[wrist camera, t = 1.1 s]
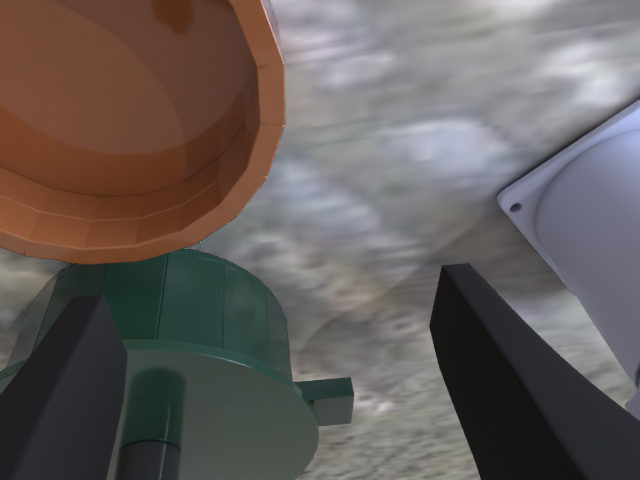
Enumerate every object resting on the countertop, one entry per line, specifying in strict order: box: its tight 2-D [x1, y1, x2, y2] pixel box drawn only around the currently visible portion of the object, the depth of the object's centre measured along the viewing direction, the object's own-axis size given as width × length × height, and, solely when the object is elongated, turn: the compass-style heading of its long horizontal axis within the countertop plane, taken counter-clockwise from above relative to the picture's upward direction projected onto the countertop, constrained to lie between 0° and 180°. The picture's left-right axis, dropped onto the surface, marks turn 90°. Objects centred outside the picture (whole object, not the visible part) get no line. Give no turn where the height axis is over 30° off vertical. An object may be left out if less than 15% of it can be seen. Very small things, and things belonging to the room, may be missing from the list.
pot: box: [6, 248, 354, 426], centre depth 25 cm, size 13×18×6 cm
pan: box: [0, 0, 286, 265], centre depth 16 cm, size 13×13×4 cm
